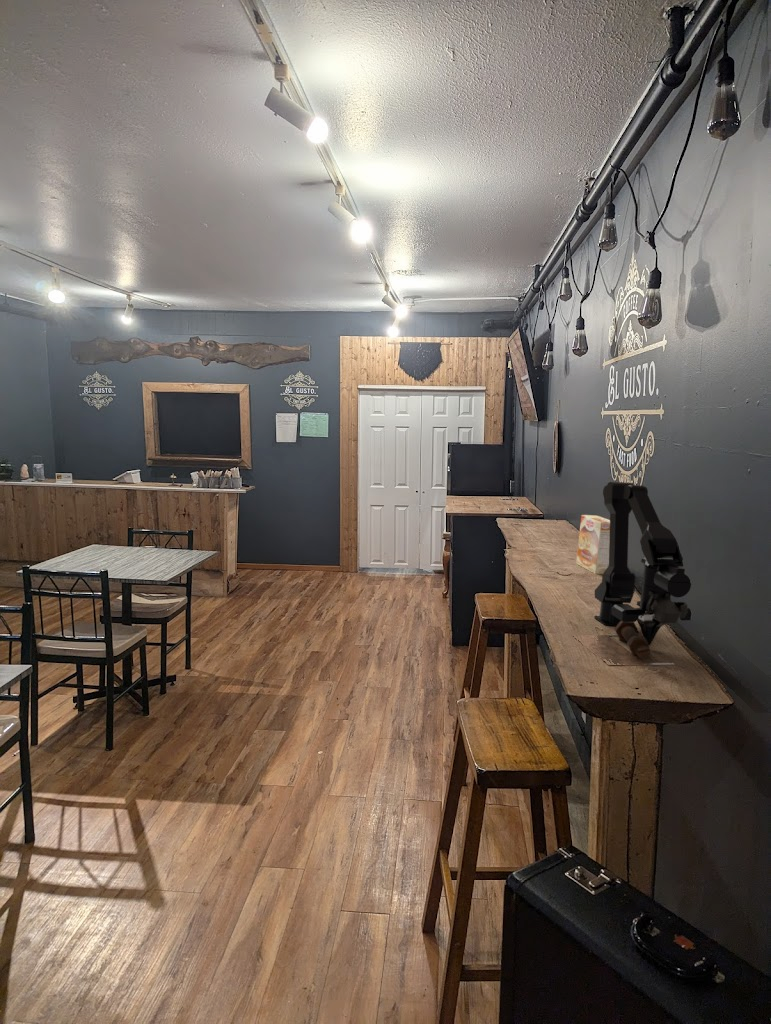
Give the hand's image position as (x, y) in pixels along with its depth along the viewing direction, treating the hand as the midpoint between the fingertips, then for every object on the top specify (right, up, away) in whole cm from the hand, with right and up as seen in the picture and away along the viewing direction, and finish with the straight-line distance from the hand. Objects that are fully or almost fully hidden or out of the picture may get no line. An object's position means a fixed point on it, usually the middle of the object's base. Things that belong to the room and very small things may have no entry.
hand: (647, 644), depth 156 cm
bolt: (-4, -1, -1) cm, 4 cm away
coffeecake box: (+13, +11, +80) cm, 82 cm away
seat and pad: (-7, -1, -1) cm, 7 cm away
